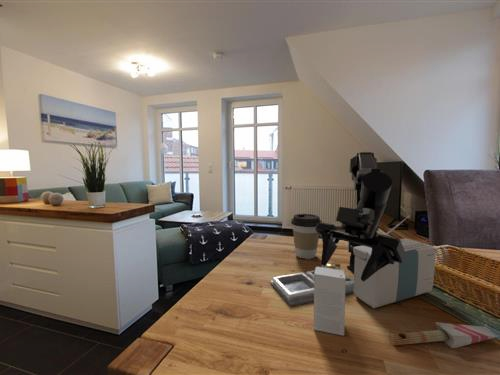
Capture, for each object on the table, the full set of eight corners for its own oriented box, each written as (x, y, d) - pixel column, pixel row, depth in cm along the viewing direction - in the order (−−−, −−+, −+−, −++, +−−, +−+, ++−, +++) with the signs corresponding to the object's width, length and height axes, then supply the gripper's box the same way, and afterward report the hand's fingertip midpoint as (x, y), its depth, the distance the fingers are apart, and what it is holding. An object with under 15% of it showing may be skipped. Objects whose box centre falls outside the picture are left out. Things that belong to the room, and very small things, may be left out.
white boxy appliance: (375, 313, 55) (379, 228, 53) (348, 295, 62) (351, 220, 60) (434, 295, 62) (440, 220, 60) (404, 281, 70) (408, 213, 68)
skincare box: (343, 323, 51) (345, 269, 50) (344, 337, 47) (346, 278, 46) (314, 317, 53) (315, 265, 52) (312, 330, 49) (314, 274, 48)
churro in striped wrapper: (502, 331, 44) (398, 340, 44) (501, 345, 45) (397, 354, 44) (481, 318, 48) (385, 325, 47) (480, 330, 49) (385, 338, 48)
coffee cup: (298, 248, 98) (298, 212, 96) (325, 254, 91) (326, 215, 90) (284, 257, 88) (285, 217, 87) (314, 264, 82) (315, 221, 80)
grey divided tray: (331, 272, 76) (332, 254, 75) (360, 291, 64) (361, 270, 64) (270, 283, 69) (270, 263, 68) (290, 306, 57) (291, 283, 57)
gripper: (320, 190, 61) (290, 241, 55) (403, 198, 46) (375, 268, 40) (336, 216, 66) (311, 265, 60) (414, 230, 52) (391, 296, 46)
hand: (341, 272), depth 52 cm, fingers open, 9 cm apart
